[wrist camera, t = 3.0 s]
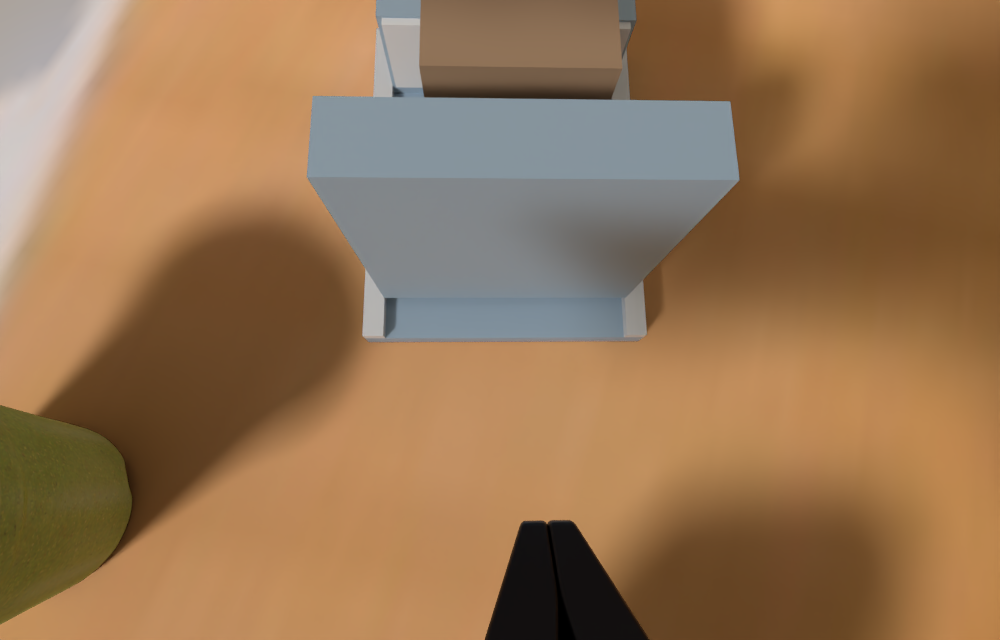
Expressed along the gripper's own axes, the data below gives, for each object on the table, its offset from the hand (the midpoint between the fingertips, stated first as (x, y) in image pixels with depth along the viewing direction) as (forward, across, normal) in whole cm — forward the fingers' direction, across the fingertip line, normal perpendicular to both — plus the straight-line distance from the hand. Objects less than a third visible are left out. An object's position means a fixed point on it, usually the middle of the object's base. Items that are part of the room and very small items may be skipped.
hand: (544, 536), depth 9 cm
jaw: (+14, 0, +2) cm, 14 cm away
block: (+18, 0, 0) cm, 18 cm away
